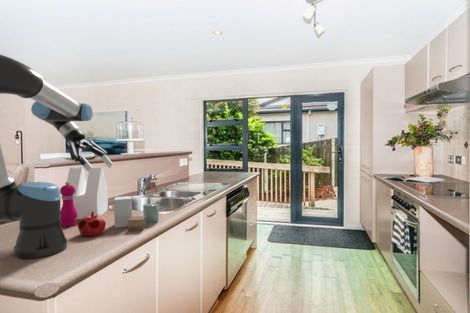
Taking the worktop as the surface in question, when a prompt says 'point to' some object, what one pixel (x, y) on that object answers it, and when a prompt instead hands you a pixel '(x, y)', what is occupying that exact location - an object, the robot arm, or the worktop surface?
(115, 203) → the supplement box
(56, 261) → the worktop surface
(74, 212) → the pepper mill
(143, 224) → the walnut block
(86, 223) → the pomegranate
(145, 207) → the green rounded block
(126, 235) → the worktop surface
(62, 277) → the worktop surface
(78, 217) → the milk carton
